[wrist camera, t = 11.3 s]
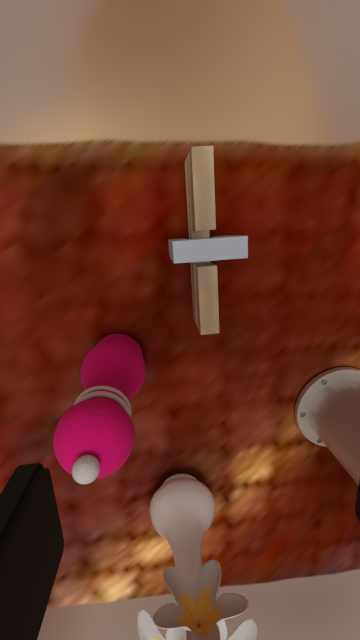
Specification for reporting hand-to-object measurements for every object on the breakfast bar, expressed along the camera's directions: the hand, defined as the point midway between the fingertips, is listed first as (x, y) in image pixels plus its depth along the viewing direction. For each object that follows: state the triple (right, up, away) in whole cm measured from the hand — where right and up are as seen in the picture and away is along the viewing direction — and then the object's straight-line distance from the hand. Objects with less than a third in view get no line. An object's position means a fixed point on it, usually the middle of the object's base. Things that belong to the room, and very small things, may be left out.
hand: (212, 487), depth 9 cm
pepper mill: (-9, 0, +30) cm, 31 cm away
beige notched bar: (+1, +14, +26) cm, 30 cm away
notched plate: (+1, +14, +26) cm, 30 cm away
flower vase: (-1, -20, +36) cm, 41 cm away
